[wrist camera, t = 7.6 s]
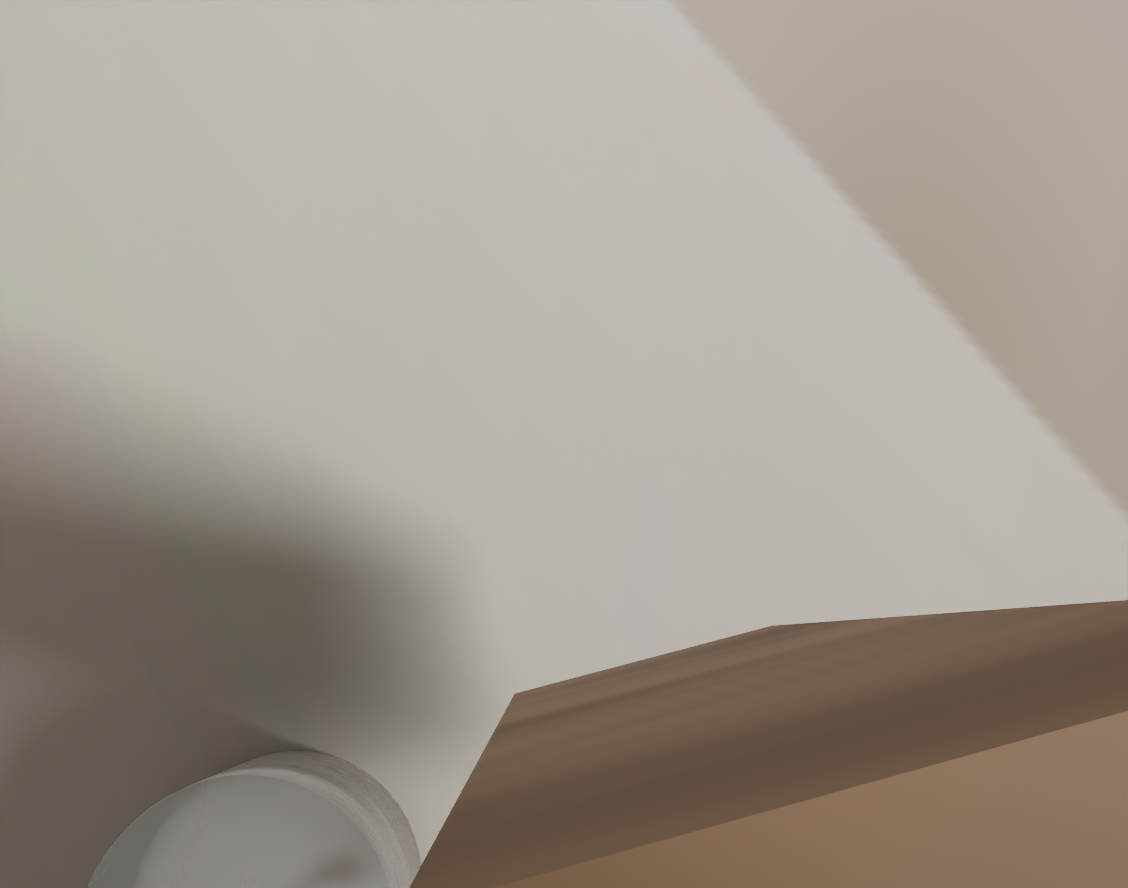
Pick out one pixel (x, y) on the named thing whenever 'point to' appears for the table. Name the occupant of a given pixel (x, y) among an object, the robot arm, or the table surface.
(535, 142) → the table surface
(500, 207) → the table surface
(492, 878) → the walnut block
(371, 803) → the grey tin
